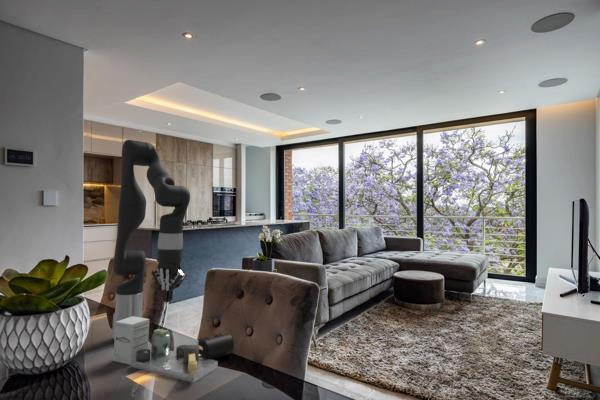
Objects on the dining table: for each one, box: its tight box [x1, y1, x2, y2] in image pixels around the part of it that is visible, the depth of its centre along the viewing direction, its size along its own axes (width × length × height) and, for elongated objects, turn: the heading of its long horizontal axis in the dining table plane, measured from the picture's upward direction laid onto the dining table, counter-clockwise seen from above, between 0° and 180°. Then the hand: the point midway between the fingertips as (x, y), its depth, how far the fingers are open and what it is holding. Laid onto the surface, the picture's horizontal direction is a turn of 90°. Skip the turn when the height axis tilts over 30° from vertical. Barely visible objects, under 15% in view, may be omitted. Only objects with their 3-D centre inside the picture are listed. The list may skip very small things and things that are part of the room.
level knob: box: [184, 344, 200, 372], centre depth 100 cm, size 12×4×4 cm, turn 20°
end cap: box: [197, 333, 235, 360], centre depth 112 cm, size 10×7×7 cm
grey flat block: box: [130, 328, 219, 384], centre depth 105 cm, size 24×12×9 cm, turn 67°
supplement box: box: [113, 316, 150, 366], centre depth 110 cm, size 7×7×13 cm
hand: (167, 301), depth 107 cm, fingers closed
